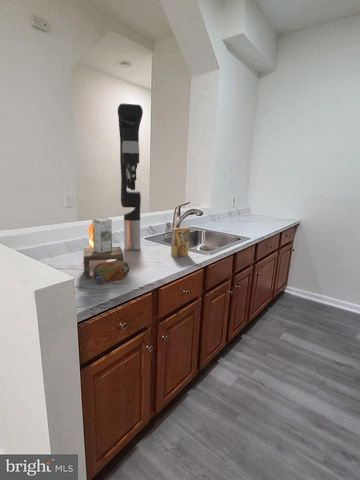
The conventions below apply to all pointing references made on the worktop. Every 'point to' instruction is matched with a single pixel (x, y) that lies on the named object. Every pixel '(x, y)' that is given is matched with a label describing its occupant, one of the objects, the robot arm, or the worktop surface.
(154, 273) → the worktop surface
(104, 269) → the tin
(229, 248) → the worktop surface
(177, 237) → the candy box
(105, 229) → the syrup box
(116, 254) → the walnut shelf
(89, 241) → the orange juice
